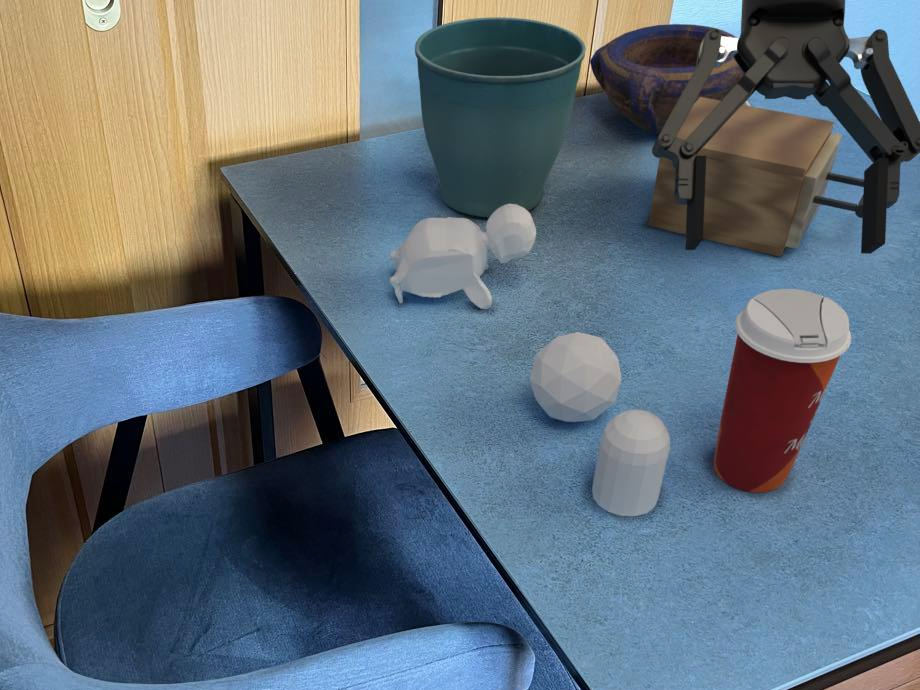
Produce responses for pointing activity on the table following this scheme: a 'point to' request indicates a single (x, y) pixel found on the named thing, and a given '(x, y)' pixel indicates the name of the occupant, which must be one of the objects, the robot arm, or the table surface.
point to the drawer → (820, 191)
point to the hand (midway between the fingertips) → (782, 247)
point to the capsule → (631, 463)
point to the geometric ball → (576, 377)
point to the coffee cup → (776, 384)
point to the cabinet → (745, 176)
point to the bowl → (657, 72)
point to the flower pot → (496, 107)
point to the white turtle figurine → (459, 253)
